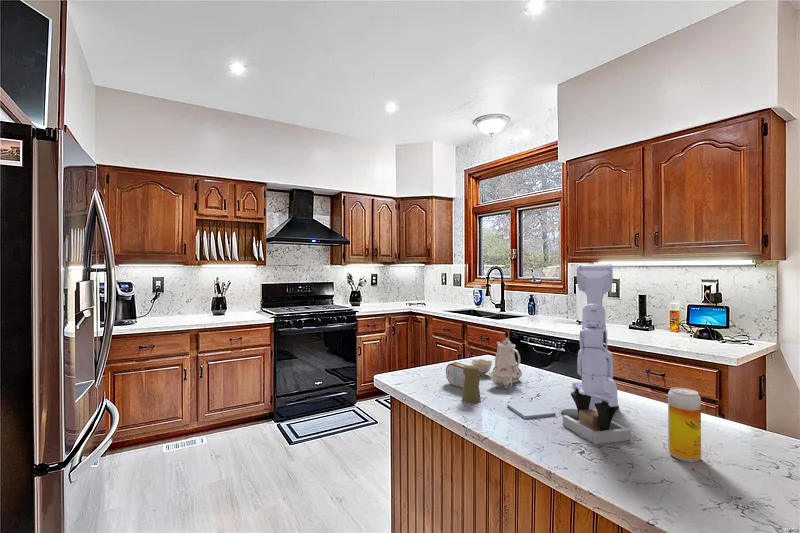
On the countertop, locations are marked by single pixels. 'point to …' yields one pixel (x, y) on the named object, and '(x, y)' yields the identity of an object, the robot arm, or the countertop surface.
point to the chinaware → (502, 365)
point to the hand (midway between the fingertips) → (593, 424)
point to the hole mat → (571, 413)
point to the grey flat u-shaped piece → (599, 437)
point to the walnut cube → (589, 419)
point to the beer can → (684, 424)
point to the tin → (456, 374)
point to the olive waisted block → (471, 385)
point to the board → (531, 410)
